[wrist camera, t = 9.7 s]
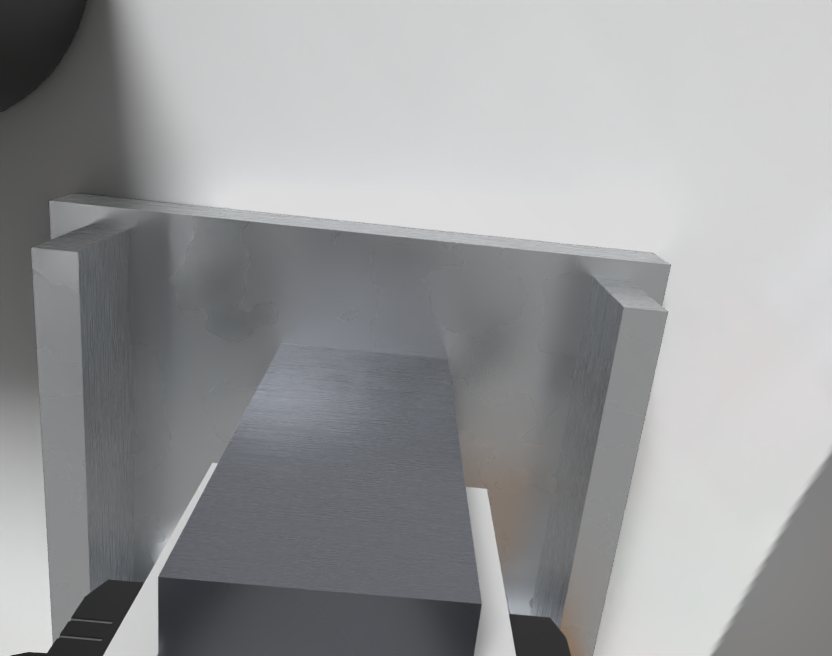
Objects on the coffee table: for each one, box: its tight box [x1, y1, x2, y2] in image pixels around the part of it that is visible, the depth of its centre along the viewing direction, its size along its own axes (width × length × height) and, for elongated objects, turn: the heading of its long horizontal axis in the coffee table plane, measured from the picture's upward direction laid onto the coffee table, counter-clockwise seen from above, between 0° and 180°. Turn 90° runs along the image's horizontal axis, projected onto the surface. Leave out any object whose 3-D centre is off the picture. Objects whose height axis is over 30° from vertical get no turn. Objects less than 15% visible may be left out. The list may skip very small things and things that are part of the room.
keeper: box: [31, 193, 671, 656], centre depth 16 cm, size 16×14×14 cm
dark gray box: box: [158, 343, 482, 656], centre depth 16 cm, size 5×6×10 cm
